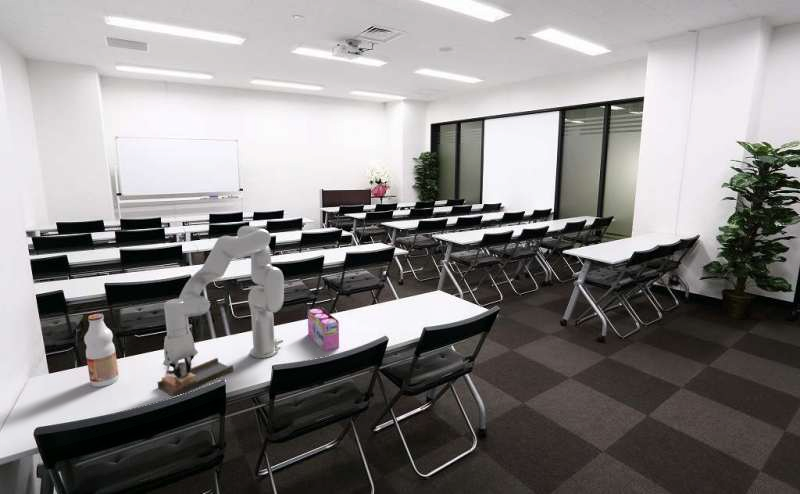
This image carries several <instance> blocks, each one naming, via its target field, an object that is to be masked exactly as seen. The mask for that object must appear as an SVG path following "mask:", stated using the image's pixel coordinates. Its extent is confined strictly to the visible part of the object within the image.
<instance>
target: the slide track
mask: <svg viewBox="0 0 800 494" xmlns="http://www.w3.org/2000/svg"><path fill="white" fill-rule="evenodd" d="M232 372H234V366H233V365H229V366H228V365H225V364H224V363H222V362H220V361H219V358H218V357H216V358H213V359H211V360H208V361H205V362H203V363H201V364H198V365H195V366H194V367H191V370H190V373H192V374H194V375H196V381H194V382H192V383H190V384H187V385H185V386H183V387H182V383H180V382H179V381H177V380H175V379H174V378H172V377H170V375H166V376H163V377H161V380H159V381H157V389H159V390H161V391H162V392H164V393H165V394H167V395H169V396H170V397H172V398H173V397H174V396H177V395H180V394H182V395H184V394H186V393H188V392H191V391H192V390H195V389H197V388H199V387H202V386H204V385H206V384H208V383H210V382H213V381H215V380H217V379H219V378H221V376H222V377H224V376H226V375H228V374H231V373H232ZM216 378H217V379H216ZM214 379H215V380H214ZM183 393H184V394H183ZM180 396H181V395H180ZM177 397H178V396H177Z"/></svg>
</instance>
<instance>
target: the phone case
mask: <svg viewBox="0 0 800 494" xmlns="http://www.w3.org/2000/svg"><path fill="white" fill-rule="evenodd" d="M169 362H170V360H169ZM180 362H185V360H184V359H181V360H179V361H178V363H180ZM171 363H172V362H171ZM167 367H168V368H167V371H168V372H167V373H168V374H169V375H172V374H174V369H173V367H171V366H167ZM190 368H192V362H191V363H190Z"/></svg>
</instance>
